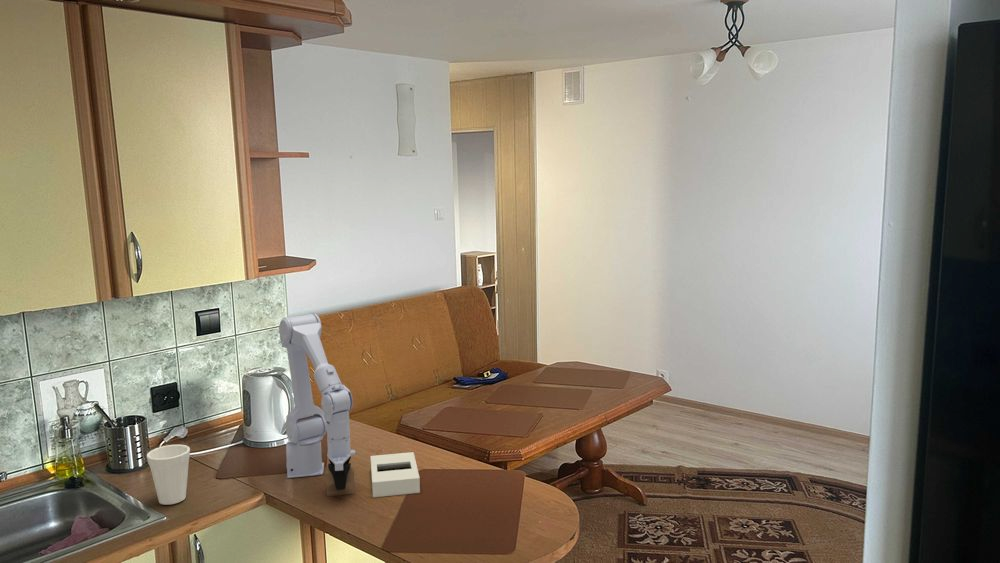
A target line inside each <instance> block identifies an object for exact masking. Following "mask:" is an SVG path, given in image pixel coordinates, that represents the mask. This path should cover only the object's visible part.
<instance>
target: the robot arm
mask: <svg viewBox="0 0 1000 563" xmlns="http://www.w3.org/2000/svg"><path fill="white" fill-rule="evenodd" d="M322 327H323V326H322V320H321V319H320V317H319V315H318V314H316V313H311V314H305V315H304V314H303V315H297V316H296V315H295V316H289V317H282V318H281V320H280V322H279V324H278V333H279V340H280V343H281V344H280V345H281V347H282V348H284V349H286V353H287V358H288V367H289V373H290V381H291V386H292V395H293V402H294V408H292V410H291V411H289V413H288V414H287V416H286V418H285V420H286V421H285V422H286V426H285V433H286V436H287V438H288V440H289V441H287V442H286V448H285V453H286V454H285V456H286V464H285V465H286V466H285V467H286V474H287V475H286V478H287V479H291V478H303V477H304V478H305V477H313V476H322V475H323V474H324V468H325V462H323V460H322V457H323V456H322V442H321V441H322V440H323V439H324V436H326V441H327V452H326V455H327V456H326V457H327V458H328V461H329V463H328V465H327V469H329V470H330V472H331V474H332V476H333V479H334V483H335V487H336V489H337V490H344V489H345V486H346V479H347V474H348V471H349V469H350V467H352V463H351V462H350V461H351V458H352V456H355V455H356V450H355V449H351V434H350V433H351V432H350V431H351V430H350V412H349V411H351V410H352V409H353V406H354V399H353V395H352V392H351V391H350V389H349V388H348V387H347V386H346V385H345V384H343V383H342V381H341V379H340V377H339V374H338V372H337V370H336V368H335V366H334V365H333V364H330V363H329V362H328V358H327V356H326V351H325V350H324V347H323V344H322V343H323V342H322V341H321V336H322ZM308 358H309V359H310V362H311V364H312V366H313V367H314V372H313V375H312V376H313V378H314V380H315V383H316V385H317V388H318V390H319V393H320V395H321V401H320V406H321V407H319V406H317V405H315V404H314V398H313V392H312V383H311V377H310V369H309V362H308Z"/></svg>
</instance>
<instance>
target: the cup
mask: <svg viewBox="0 0 1000 563" xmlns="http://www.w3.org/2000/svg"><path fill="white" fill-rule="evenodd" d="M190 454H191V448H190V446H188V445H186V444H168V445H163V446H159V447H156V448H154V449H151V450H149V452H147V454H146V460H147V463H148V465H149V467H150V471H151V475H152V479H153V484H154V488H155V492H156V496H157V499H158V503H159V504H160V505H174V504H178V503H180V502H182V501H184V500H185V499H186V496H187V487H188V473H189V461H190V458H191V455H190Z"/></svg>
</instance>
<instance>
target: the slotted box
mask: <svg viewBox="0 0 1000 563" xmlns="http://www.w3.org/2000/svg"><path fill="white" fill-rule="evenodd" d="M400 468H403V469H400ZM389 469H390V470H389ZM393 469H394V470H393ZM380 470H383V471H380ZM370 473H371V490H372V498H380V497H390V496H398V495H399V496H400V495H410V494H420V493H421V486H420V485H421V483H420V480H421V478H420V474H419V469H418V466H417V462H416V457H415V452H412V451H411V452H410V451H409V452H402V453H401V452H400V453H388V454H379V455H378V454H377V455H370Z"/></svg>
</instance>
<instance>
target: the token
mask: <svg viewBox="0 0 1000 563" xmlns="http://www.w3.org/2000/svg"><path fill="white" fill-rule="evenodd" d="M325 479H326V480H325V481H326V496H327V497H330V496H331V497H332V496H333V497H334V496H344V495H353V494H356V488H355V487H356V486H355V484H356V482H355V467H354V466H351V467H350V469H349V471H348V474H347V479H346V486H345V489H344V490H337V489H336V487H335V483H334V479H333V476H332V474H331V472H330V470H329V469H328V468H327V469H326V471H325Z"/></svg>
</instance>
